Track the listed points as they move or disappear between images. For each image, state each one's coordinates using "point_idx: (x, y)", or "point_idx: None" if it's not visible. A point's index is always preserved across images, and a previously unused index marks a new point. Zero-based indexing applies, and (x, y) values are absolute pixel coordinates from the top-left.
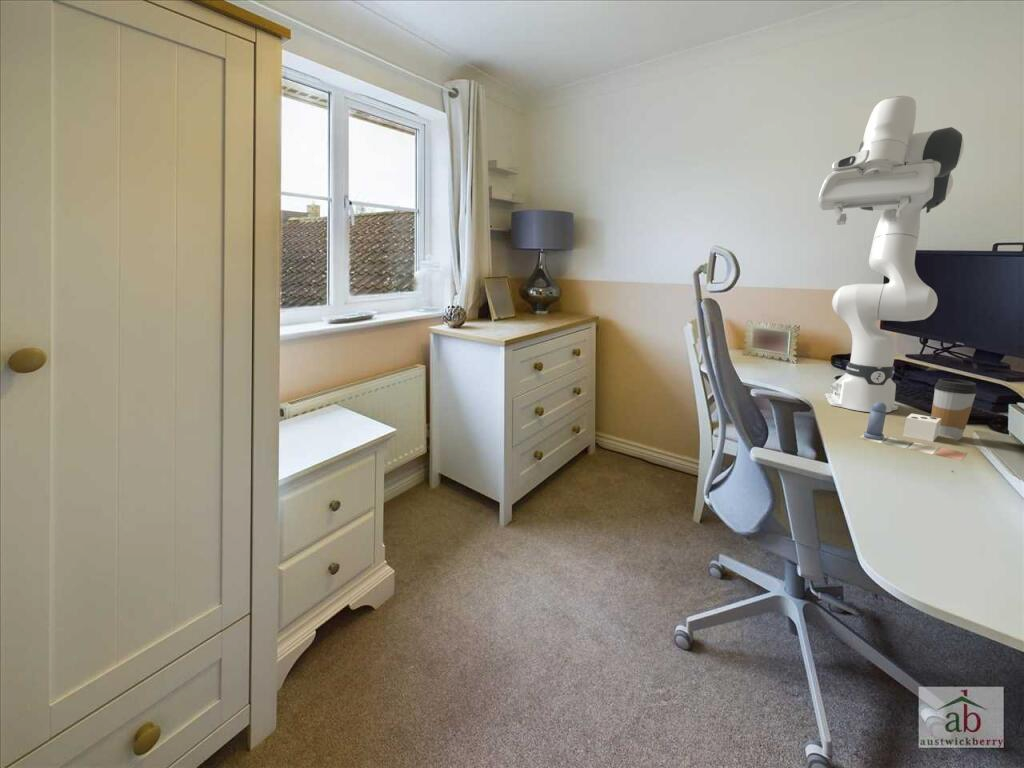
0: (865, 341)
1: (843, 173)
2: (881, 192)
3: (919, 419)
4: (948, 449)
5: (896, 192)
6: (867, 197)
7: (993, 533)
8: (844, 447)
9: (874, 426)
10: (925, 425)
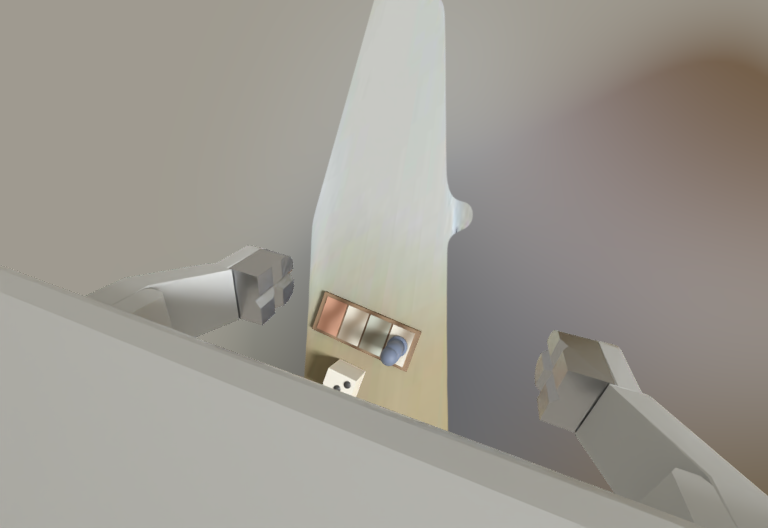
0: None
1: None
2: (206, 398)
3: (343, 378)
4: (330, 333)
5: (95, 326)
6: (379, 411)
7: (350, 125)
8: (432, 303)
9: (396, 341)
10: (339, 370)
